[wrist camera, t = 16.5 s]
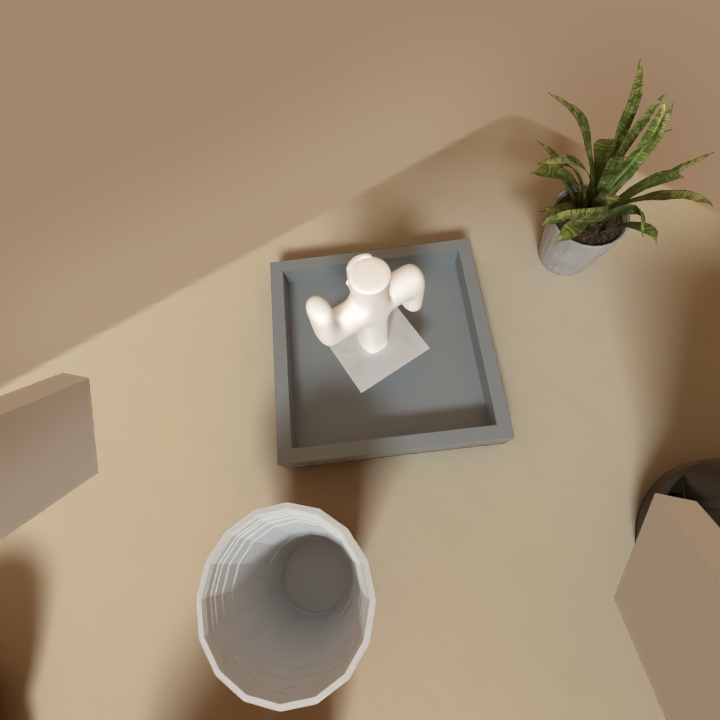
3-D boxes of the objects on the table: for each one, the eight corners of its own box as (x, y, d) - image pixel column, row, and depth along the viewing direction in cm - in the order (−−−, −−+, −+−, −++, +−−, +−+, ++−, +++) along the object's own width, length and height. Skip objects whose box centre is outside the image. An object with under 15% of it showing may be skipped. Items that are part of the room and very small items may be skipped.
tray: (463, 255, 46) (468, 238, 43) (505, 443, 39) (514, 437, 36) (277, 278, 46) (270, 262, 43) (285, 468, 39) (278, 464, 36)
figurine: (435, 356, 41) (460, 273, 27) (353, 410, 40) (335, 352, 26) (392, 301, 44) (395, 199, 30) (313, 350, 42) (277, 267, 28)
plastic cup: (234, 538, 37) (168, 547, 26) (348, 486, 38) (333, 473, 27) (275, 676, 34) (220, 755, 22) (400, 615, 35) (408, 661, 23)
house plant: (490, 187, 49) (538, 35, 33) (618, 192, 48) (729, 37, 32) (490, 299, 44) (547, 182, 29) (633, 308, 43) (771, 191, 27)
